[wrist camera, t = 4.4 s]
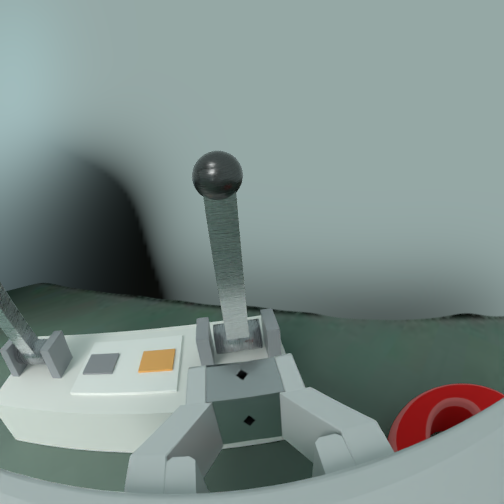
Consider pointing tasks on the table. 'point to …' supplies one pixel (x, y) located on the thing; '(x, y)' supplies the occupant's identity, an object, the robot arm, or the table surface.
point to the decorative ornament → (439, 412)
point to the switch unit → (115, 384)
